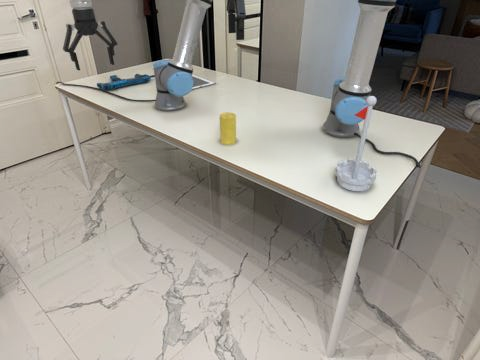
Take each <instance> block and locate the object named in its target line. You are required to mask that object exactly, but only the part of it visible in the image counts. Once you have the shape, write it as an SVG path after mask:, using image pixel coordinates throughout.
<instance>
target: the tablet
mask: <svg viewBox="0 0 480 360" xmlns="http://www.w3.org/2000/svg"><path fill="white" fill-rule="evenodd" d="M192 78H193V82H194V84H193V88H192V90H191V91H193V90H196V89H200V88H205V87H207V86H208V87H209V86H212V85H215V84H216V82H214V81H211V80H209V79H205V78H202V77H200V76H198V75H196V74H193V73H192Z"/></svg>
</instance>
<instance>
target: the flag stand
mask: <svg viewBox="0 0 480 360" xmlns="http://www.w3.org/2000/svg"><path fill="white" fill-rule="evenodd" d="M366 103H367V105H368V106H367V107H366V108H364V109H363V110H361V111H360V112H358V113H357V114H355V116H357V117H359V118H362V119H364V120H363V123H362V124H363V125H362V130H361V134H360V135H361V138H360V139H359V143H358V147H357V154H356V158H347V161H344V160H339V161H338V162H337V164H336V166H335V171H334V173H335V176H336V182H337V184H338V185H339V186H340V187H341V188H343V189H346V190H349V191H353V192H364V191H366V190H368V189H370V187H371V185H372V184H373V183H374V182H375V181H376V179H377V173H378V169H377V168H376V166H370V165H371V163H370V162H369V161H366V160H362V157H363V152H364V147H365V143H366V141H365V139H367V134H368V131H369V126H370V121H371V116H372V111H373V108H374V106H375V105H376V104H377V97H376V96H375V95H370V96H369V97H368V98H367V99H366Z"/></svg>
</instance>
